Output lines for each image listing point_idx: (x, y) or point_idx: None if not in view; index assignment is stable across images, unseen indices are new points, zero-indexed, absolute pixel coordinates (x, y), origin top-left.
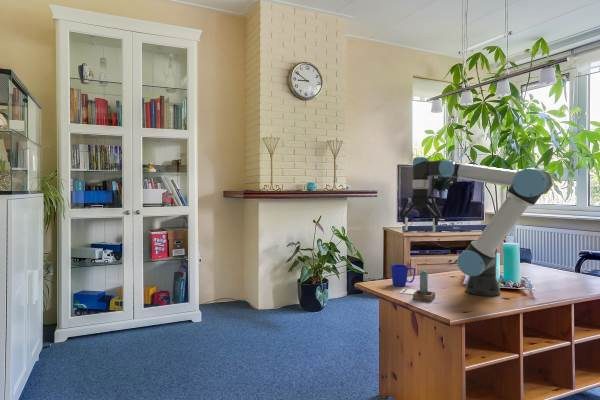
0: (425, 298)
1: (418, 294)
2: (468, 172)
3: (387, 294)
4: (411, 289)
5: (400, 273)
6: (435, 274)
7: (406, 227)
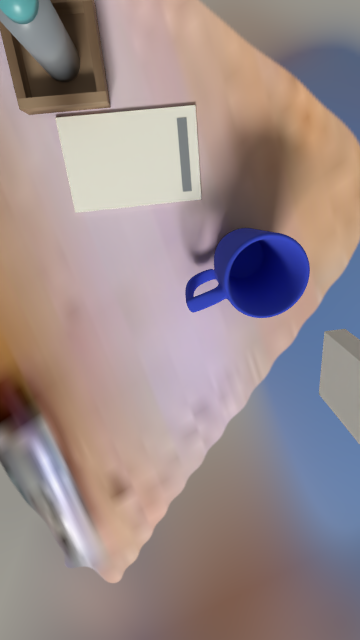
0: None
1: None
2: None
3: (233, 40)
4: (168, 200)
5: (241, 236)
6: (176, 485)
7: (349, 362)
